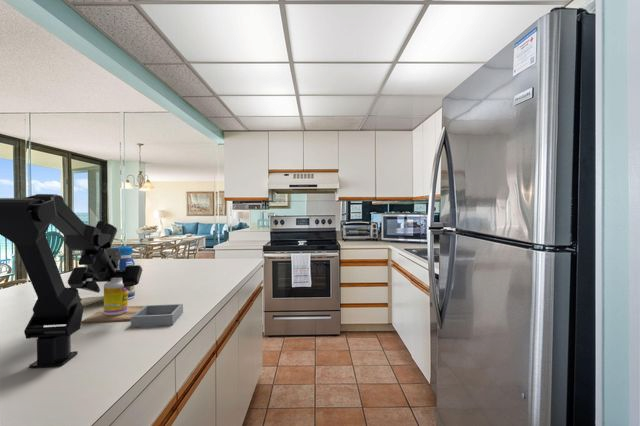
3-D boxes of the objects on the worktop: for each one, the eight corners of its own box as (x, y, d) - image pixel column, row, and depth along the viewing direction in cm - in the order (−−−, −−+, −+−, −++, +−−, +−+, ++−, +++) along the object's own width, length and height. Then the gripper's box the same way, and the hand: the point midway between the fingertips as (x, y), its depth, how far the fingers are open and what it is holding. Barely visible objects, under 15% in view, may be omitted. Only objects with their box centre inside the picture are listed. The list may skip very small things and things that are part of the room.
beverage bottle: (107, 298, 126) (107, 246, 126) (132, 294, 132) (132, 245, 131) (112, 302, 120) (111, 248, 120) (137, 298, 125) (137, 247, 125)
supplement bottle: (124, 315, 104) (124, 275, 104) (100, 317, 102) (100, 276, 101) (130, 309, 110) (129, 271, 110) (107, 311, 108) (107, 272, 108)
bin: (172, 324, 97) (172, 314, 97) (130, 327, 95) (130, 316, 95) (182, 312, 108) (182, 303, 108) (145, 314, 106) (145, 305, 106)
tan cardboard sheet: (131, 320, 100) (131, 318, 100) (81, 323, 98) (81, 321, 98) (147, 307, 114) (147, 305, 114) (104, 309, 112) (104, 307, 112)
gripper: (140, 239, 101) (151, 269, 112) (72, 240, 97) (91, 270, 108) (130, 269, 93) (143, 297, 104) (57, 271, 90) (78, 300, 100)
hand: (114, 290), depth 104 cm, fingers open, 9 cm apart
